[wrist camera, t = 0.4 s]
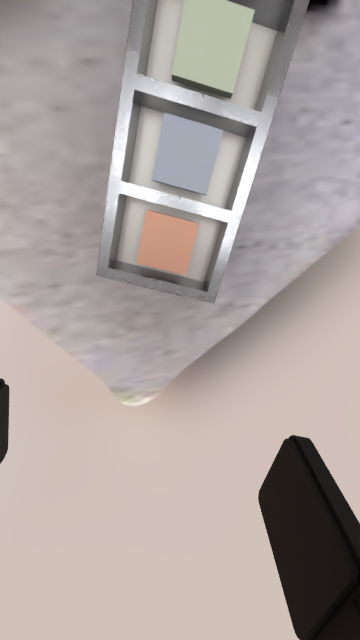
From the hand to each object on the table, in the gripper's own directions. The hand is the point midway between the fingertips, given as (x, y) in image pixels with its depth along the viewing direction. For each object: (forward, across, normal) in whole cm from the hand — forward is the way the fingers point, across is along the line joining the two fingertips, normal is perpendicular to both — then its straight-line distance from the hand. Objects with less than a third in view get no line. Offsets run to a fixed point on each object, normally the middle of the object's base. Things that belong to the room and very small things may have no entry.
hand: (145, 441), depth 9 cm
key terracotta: (+22, +1, -4) cm, 23 cm away
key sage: (+22, +1, -19) cm, 29 cm away
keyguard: (+23, +1, -12) cm, 26 cm away
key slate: (+22, +1, -12) cm, 25 cm away
